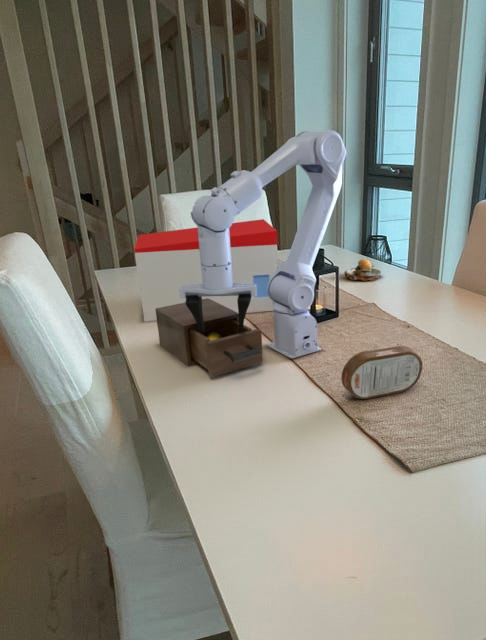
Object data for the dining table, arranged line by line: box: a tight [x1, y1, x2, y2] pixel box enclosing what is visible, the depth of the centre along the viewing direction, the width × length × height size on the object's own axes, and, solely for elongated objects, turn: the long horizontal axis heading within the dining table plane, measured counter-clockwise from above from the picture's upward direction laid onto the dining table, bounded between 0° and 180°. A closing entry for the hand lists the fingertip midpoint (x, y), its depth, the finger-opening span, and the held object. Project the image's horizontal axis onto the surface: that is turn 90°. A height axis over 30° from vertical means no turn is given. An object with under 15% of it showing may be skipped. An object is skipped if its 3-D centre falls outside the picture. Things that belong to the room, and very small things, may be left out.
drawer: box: [188, 319, 264, 378], centre depth 101 cm, size 18×11×7 cm, turn 37°
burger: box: [343, 256, 382, 282], centre depth 166 cm, size 12×12×8 cm
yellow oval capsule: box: [206, 332, 221, 341], centre depth 104 cm, size 9×3×3 cm
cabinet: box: [155, 298, 239, 367], centre depth 110 cm, size 15×13×9 cm
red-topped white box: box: [133, 218, 279, 323], centre depth 138 cm, size 21×35×21 cm, turn 104°
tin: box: [340, 345, 423, 400], centre depth 89 cm, size 15×3×8 cm, turn 111°
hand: (221, 331), depth 101 cm, fingers open, 7 cm apart
